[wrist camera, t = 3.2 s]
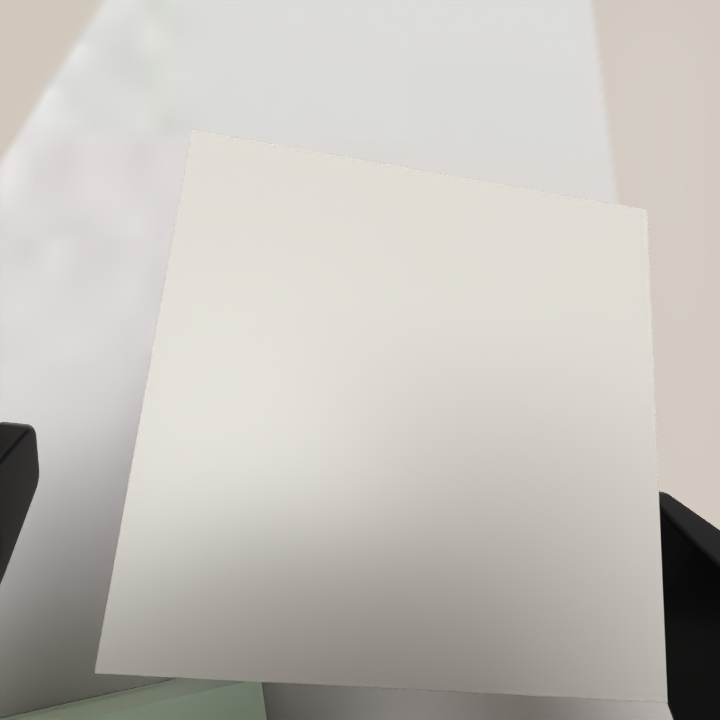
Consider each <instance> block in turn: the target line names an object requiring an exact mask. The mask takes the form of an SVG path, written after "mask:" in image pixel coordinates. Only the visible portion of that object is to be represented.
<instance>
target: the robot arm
mask: <svg viewBox="0 0 720 720" xmlns="http://www.w3.org/2000/svg"><path fill="white" fill-rule="evenodd" d="M38 479H39V463H38V451H37V440H36V433H35V430H34V428H33V427H32V426H30V425H28V424H19V423H10V422H1V423H0V584H1V581H2V579H3V576H4V574H5V571H6V569H7V566H8V563H9V561H10V558H11V555H12V552H13V550H14V547H15V544H16V542H17V539H18V536H19V534H20V531H21V528H22V526H23V523H24V520H25V518H26V515H27V512H28V510H29V507H30V504H31V501H32V499H33V496H34V493H35V491H36V488H37V484H38ZM659 509H660V533H661V557H662V581H663V604H664V628H665V652H666V676H667V699H668V703H667V704H668V706H669V709H670V712H671V714H672V717H673V720H720V530H719V529H717V528H716V527H714V526H713V525H711V524H710V523H708V522H707V521H706V520H704V519H703V518H701V517H700V516H699V515H697V514H696V513H694V512H693V511H691V510H690V509H689V508H687V507H686V506H684V505H683V504H682V503H680V502H679V501H677V500H675V499H674V498H673V497H672V496H670V495H669V494H667V493H664V492H659Z"/></svg>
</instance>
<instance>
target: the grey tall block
mask: <svg viewBox="0 0 720 720" xmlns="http://www.w3.org/2000/svg"><path fill="white" fill-rule="evenodd" d="M648 250H649V248H648V226H647V210H645V209H638V208H633V207H628V206H622V205H616V204H611V203H605V202H599V201H594V200H588V199H582V198H577V197H571V196H566V195H560V194H554V193H549V192H543V191H537V190H532V189H526V188H520V187H515V186H509V185H503V184H498V183H492V182H486V181H481V180H475V179H469V178H464V177H458V176H452V175H447V174H441V173H435V172H430V171H424V170H418V169H413V168H407V167H402V166H396V165H390V164H385V163H379V162H373V161H368V160H362V159H356V158H351V157H345V156H339V155H334V154H328V153H322V152H317V151H311V150H305V149H300V148H294V147H288V146H283V145H277V144H271V143H266V142H260V141H254V140H249V139H243V138H238V137H232V136H226V135H221V134H215V133H209V132H204V131H198V130H192V133H191V139H190V144H189V150H188V155H187V161H186V166H185V172H184V178H183V183H182V189H181V194H180V200H179V205H178V211H177V216H176V222H175V228H174V233H173V239H172V244H171V250H170V255H169V261H168V266H167V272H166V277H165V283H164V289H163V294H162V300H161V305H160V311H159V316H158V322H157V327H156V333H155V339H154V344H153V350H152V355H151V361H150V366H149V372H148V377H147V383H146V388H145V394H144V400H143V405H142V411H141V416H140V422H139V427H138V433H137V438H136V444H135V450H134V455H133V461H132V466H131V472H130V477H129V483H128V488H127V494H126V499H125V505H124V511H123V516H122V522H121V527H120V533H119V538H118V544H117V549H116V555H115V561H114V566H113V572H112V577H111V583H110V588H109V594H108V599H107V605H106V610H105V616H104V622H103V627H102V633H101V638H100V644H99V649H98V655H97V660H96V666H95V672H94V673H97V674H117V675H136V676H156V677H175V678H195V679H214V680H234V681H254V682H273V683H293V684H312V685H332V686H351V687H371V688H390V689H410V690H429V691H449V692H468V693H488V694H508V695H527V696H547V697H566V698H586V699H605V700H625V701H644V702H664V703H668V699H667V676H666V652H665V628H664V604H663V581H662V557H661V533H660V509H659V486H658V462H657V439H656V414H655V392H654V367H653V345H652V320H651V296H650V273H649V251H648Z"/></svg>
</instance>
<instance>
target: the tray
mask: <svg viewBox="0 0 720 720" xmlns="http://www.w3.org/2000/svg"><path fill="white" fill-rule="evenodd" d="M0 720H267V718H266V710H265V702H264V695H263V687H262V682H254V681H234V680H214V679H195V678H177V679H173V680H168V681H164V682H160V683H155V684H151V685H146V686H142V687H137V688H133V689H129V690H124V691H120V692H115V693H111V694H106V695H102V696H98V697H93V698H89V699H84V700H80V701H76V702H71V703H67V704H62V705H58V706H53V707H49V708H45V709H40V710H36V711H31V712H27V713H22V714H18V715H14V716H9V717H5V718H0Z"/></svg>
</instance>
